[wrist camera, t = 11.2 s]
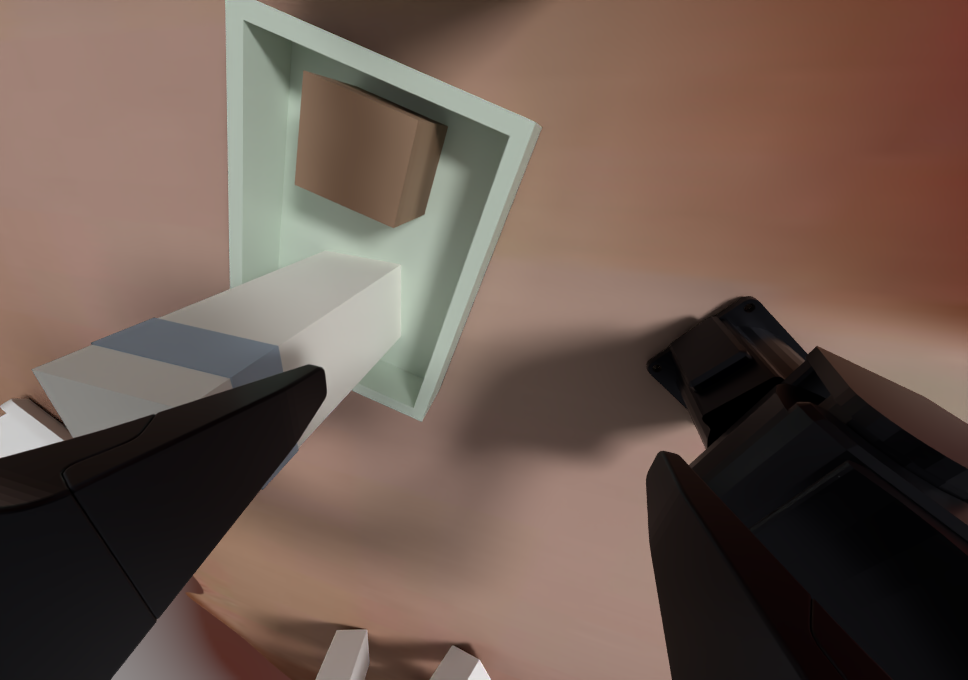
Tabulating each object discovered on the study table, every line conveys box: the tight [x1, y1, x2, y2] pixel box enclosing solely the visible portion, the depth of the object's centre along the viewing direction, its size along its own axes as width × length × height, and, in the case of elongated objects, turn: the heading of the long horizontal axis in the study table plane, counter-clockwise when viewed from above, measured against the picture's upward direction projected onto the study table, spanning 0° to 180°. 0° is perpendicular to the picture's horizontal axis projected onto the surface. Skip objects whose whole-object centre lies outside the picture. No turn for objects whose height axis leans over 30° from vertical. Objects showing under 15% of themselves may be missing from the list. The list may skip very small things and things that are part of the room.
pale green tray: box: [225, 0, 542, 422], centre depth 20 cm, size 14×18×4 cm
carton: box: [31, 250, 401, 490], centre depth 17 cm, size 5×5×14 cm
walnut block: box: [295, 70, 448, 228], centre depth 17 cm, size 5×4×4 cm
